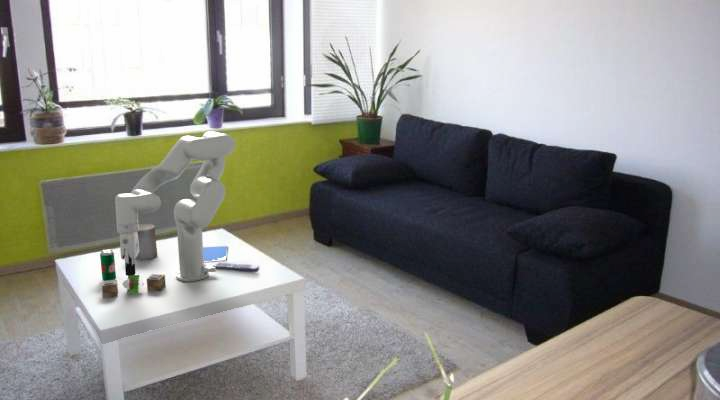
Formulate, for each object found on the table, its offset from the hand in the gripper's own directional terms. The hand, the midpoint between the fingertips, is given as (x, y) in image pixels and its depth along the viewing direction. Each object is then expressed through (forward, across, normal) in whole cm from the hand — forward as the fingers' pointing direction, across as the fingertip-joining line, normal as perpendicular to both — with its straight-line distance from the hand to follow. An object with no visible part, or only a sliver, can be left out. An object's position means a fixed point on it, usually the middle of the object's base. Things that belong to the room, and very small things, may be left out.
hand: (130, 274), depth 239 cm
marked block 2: (+7, +2, -9) cm, 11 cm away
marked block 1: (+7, -2, +7) cm, 11 cm away
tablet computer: (+7, +40, -27) cm, 49 cm away
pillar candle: (+7, +42, +2) cm, 42 cm away
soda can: (+7, +14, +11) cm, 20 cm away
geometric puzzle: (+7, 0, -1) cm, 7 cm away
